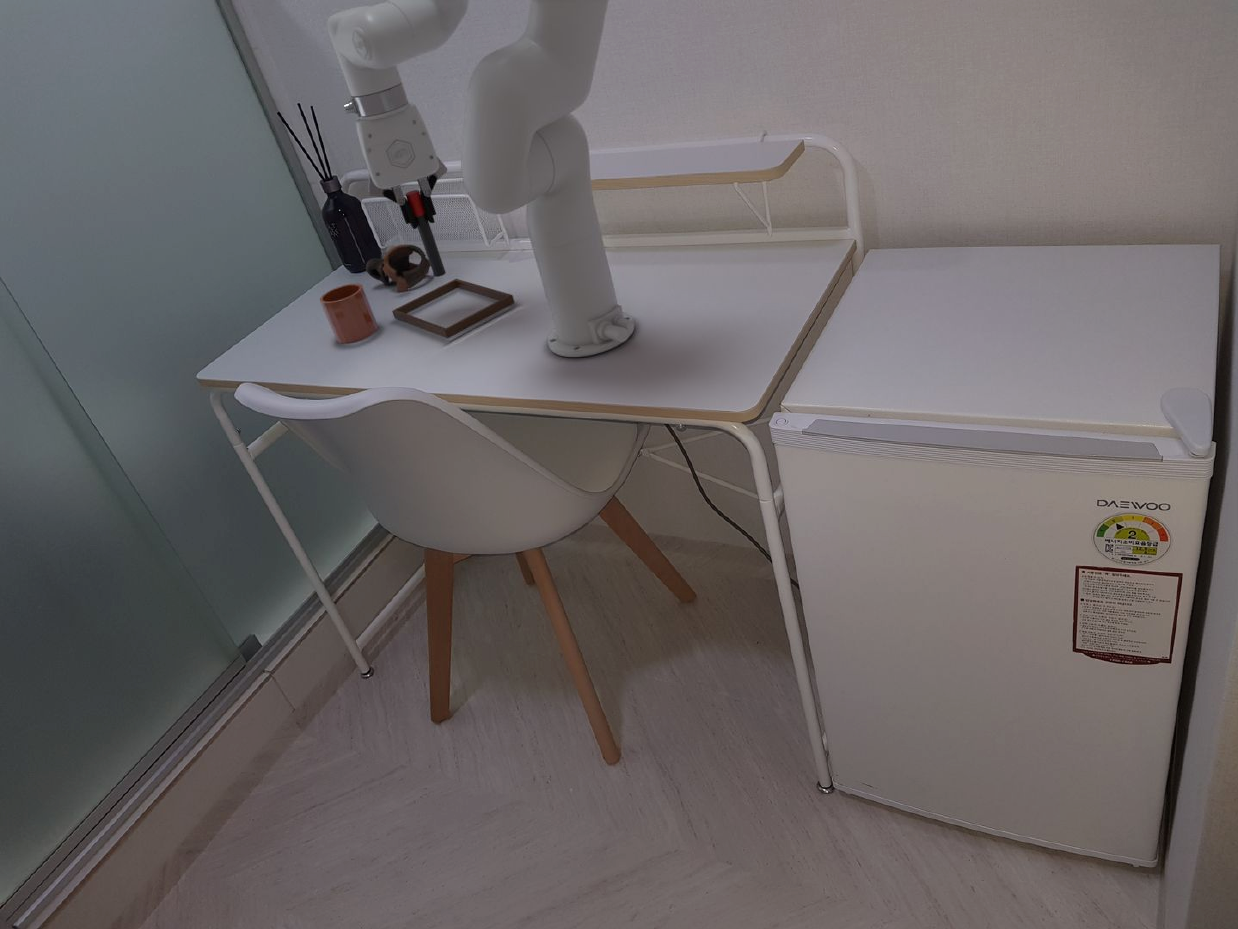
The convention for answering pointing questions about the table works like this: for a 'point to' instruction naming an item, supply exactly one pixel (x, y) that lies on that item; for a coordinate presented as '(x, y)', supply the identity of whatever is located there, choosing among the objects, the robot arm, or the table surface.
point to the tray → (463, 324)
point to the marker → (425, 232)
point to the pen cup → (349, 313)
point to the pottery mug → (399, 267)
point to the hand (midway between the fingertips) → (422, 222)
